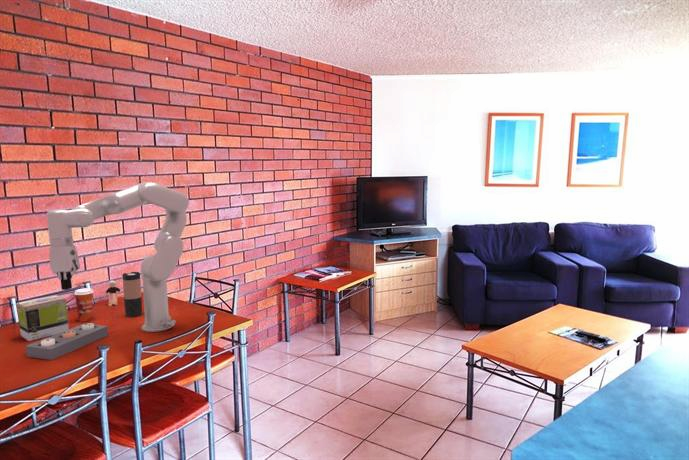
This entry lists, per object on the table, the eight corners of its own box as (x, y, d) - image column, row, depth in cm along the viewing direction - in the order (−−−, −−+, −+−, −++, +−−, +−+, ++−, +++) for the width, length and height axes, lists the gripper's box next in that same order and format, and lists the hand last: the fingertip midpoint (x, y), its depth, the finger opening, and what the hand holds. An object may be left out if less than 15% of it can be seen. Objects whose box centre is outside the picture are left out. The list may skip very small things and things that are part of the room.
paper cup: (81, 323, 205) (78, 293, 203) (73, 320, 210) (71, 290, 208) (99, 319, 211) (96, 289, 210) (91, 315, 216) (89, 286, 214)
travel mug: (138, 317, 213) (135, 275, 211) (121, 317, 214) (119, 275, 211) (145, 312, 221) (143, 271, 219) (129, 312, 221) (127, 271, 219)
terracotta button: (78, 340, 180) (77, 330, 180) (69, 344, 176) (68, 334, 176) (70, 339, 182) (69, 329, 181) (60, 343, 178) (59, 333, 177)
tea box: (60, 327, 201) (57, 294, 199) (69, 331, 195) (66, 298, 193) (19, 336, 189) (16, 301, 187) (28, 342, 183) (24, 306, 181)
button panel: (108, 335, 190) (107, 326, 189) (51, 360, 165) (50, 349, 165) (85, 332, 193) (84, 323, 193) (26, 356, 169) (25, 345, 168)
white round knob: (58, 349, 172) (57, 338, 171) (48, 353, 168) (47, 342, 167) (49, 347, 173) (48, 337, 173) (38, 352, 169) (37, 341, 169)
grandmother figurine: (107, 307, 230) (105, 282, 229) (104, 305, 233) (103, 281, 231) (123, 304, 235) (121, 279, 234) (120, 302, 238) (119, 278, 237)
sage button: (97, 333, 189) (96, 323, 189) (88, 336, 185) (87, 326, 184) (88, 332, 190) (87, 322, 190) (79, 335, 186) (78, 325, 186)
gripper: (85, 240, 176) (90, 287, 178) (55, 240, 180) (60, 285, 182) (68, 244, 168) (73, 292, 171) (37, 243, 173) (43, 290, 175)
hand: (66, 288), depth 177 cm, fingers closed
